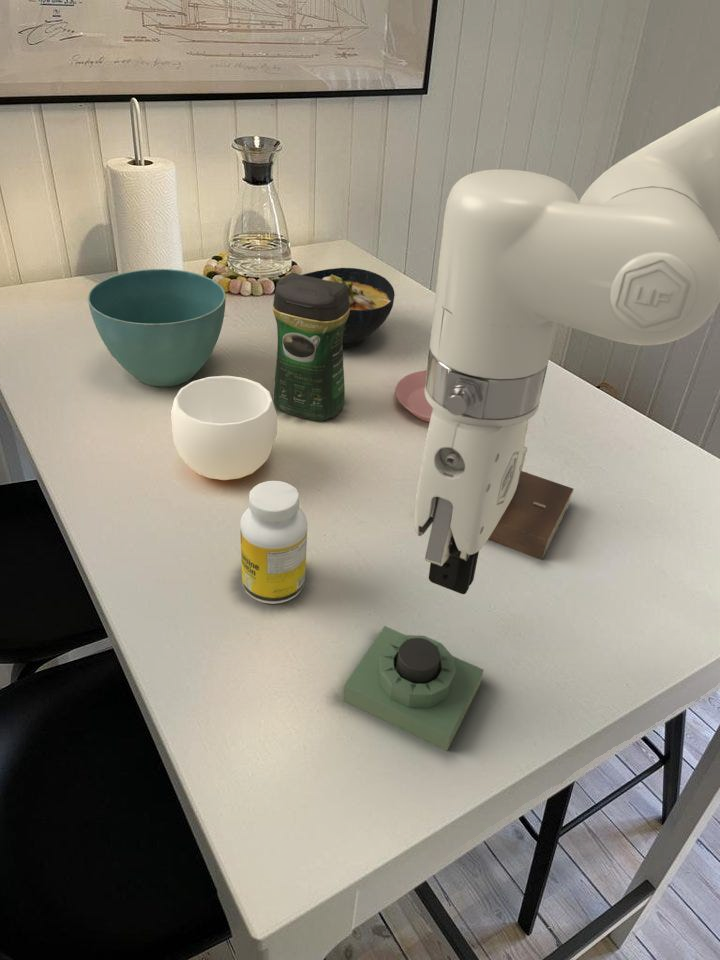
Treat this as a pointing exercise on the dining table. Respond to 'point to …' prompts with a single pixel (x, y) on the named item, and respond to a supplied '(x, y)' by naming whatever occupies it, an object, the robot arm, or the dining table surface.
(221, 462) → the cup
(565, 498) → the brown dial block
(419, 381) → the plate
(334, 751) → the dining table surface
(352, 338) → the bowl
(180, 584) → the dining table surface
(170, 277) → the teal mixing bowl
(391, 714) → the switch block
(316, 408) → the coffee jar
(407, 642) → the button
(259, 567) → the pill bottle
